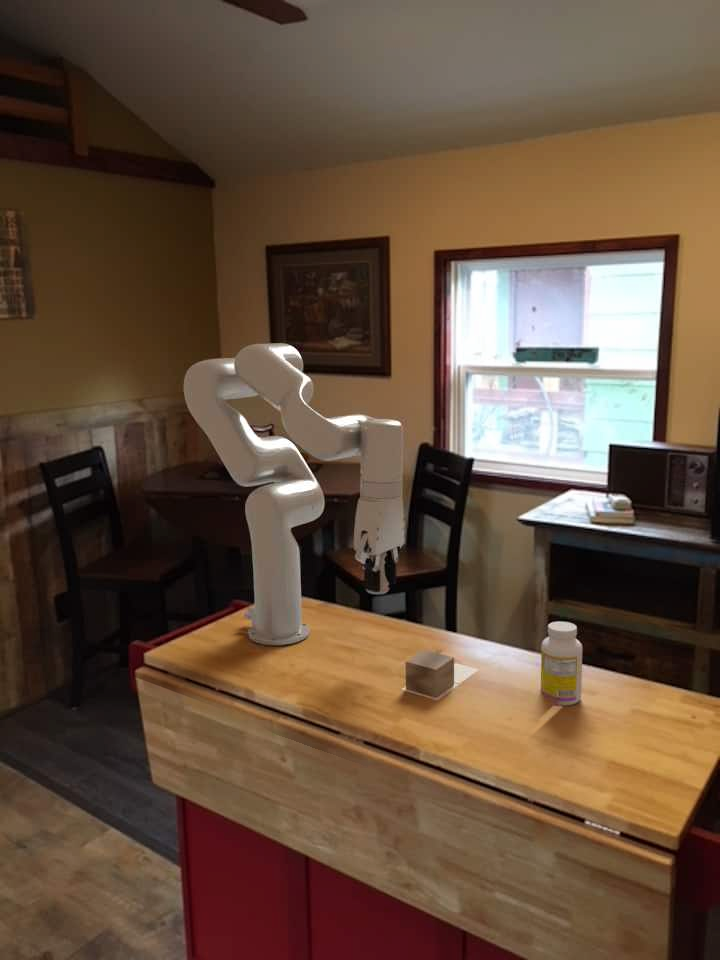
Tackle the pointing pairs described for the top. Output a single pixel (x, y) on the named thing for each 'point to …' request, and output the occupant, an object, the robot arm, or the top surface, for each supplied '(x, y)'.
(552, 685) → the supplement bottle
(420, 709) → the top surface
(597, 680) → the top surface
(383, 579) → the rook chess piece
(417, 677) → the walnut block
